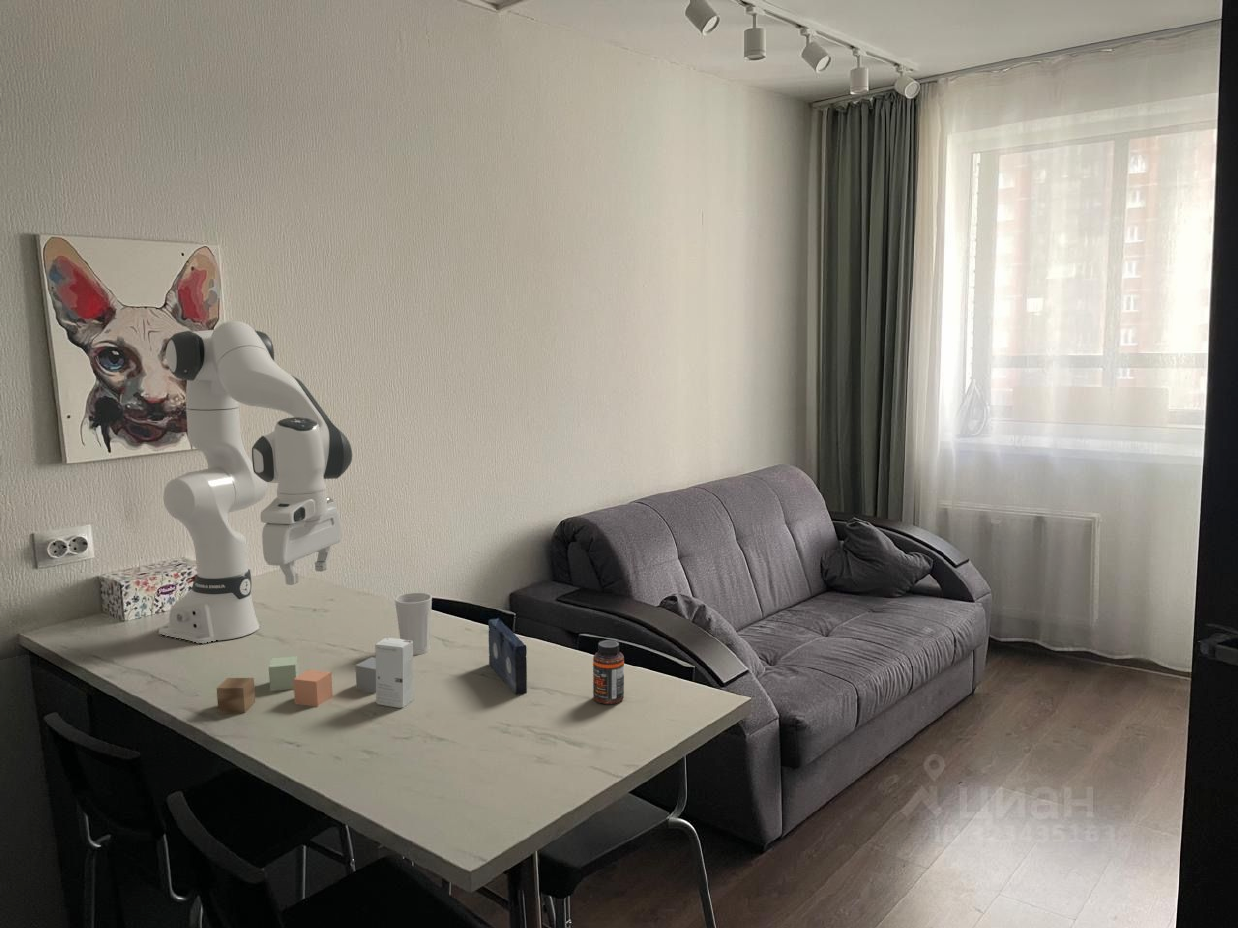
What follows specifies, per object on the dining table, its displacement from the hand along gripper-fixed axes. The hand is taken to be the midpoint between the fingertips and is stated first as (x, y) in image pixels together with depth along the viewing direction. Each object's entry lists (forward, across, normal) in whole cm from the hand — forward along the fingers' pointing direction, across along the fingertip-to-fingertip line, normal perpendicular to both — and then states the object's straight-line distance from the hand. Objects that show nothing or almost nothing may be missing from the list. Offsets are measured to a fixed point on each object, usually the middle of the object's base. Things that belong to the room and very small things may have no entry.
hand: (307, 576), depth 178 cm
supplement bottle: (+25, -15, +55) cm, 62 cm away
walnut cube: (+24, +7, -12) cm, 28 cm away
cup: (+25, -30, +6) cm, 39 cm away
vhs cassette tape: (+25, -20, +32) cm, 45 cm away
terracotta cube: (+25, 0, 0) cm, 25 cm away
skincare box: (+25, -3, +16) cm, 30 cm away
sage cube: (+24, -5, -10) cm, 27 cm away
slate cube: (+25, -9, +8) cm, 27 cm away
